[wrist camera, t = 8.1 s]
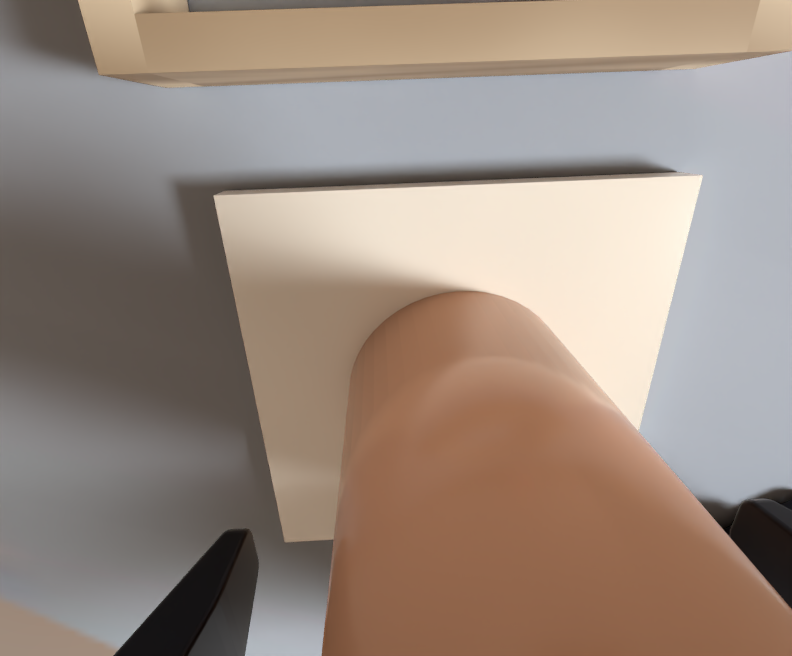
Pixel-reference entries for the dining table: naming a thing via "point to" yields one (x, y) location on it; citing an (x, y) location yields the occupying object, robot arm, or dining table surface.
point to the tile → (438, 291)
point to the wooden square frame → (425, 39)
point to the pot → (520, 508)
